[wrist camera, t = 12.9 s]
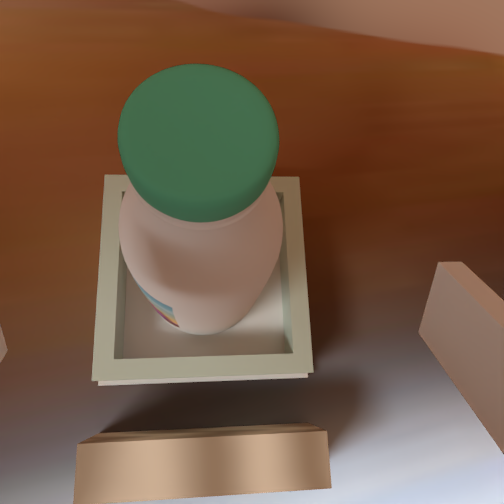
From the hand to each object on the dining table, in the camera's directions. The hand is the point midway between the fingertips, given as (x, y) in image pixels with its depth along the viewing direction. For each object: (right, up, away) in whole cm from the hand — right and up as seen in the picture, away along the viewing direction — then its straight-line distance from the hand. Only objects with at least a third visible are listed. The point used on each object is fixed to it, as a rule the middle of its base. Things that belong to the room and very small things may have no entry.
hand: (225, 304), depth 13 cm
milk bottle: (-3, -1, +18) cm, 18 cm away
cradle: (-3, -1, +19) cm, 19 cm away
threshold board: (-2, -12, +16) cm, 20 cm away
